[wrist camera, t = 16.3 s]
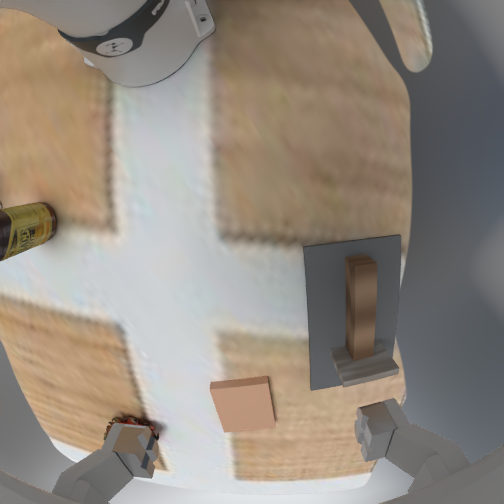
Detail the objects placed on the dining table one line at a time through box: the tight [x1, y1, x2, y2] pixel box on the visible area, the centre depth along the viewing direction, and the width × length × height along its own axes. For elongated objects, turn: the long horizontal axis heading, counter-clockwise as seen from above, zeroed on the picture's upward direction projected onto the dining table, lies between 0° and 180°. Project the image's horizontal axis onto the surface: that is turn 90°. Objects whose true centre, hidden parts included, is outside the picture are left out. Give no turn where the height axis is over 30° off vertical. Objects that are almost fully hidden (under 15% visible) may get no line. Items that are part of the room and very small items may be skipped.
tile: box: [210, 376, 276, 432], centre depth 44 cm, size 2×9×11 cm
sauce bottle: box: [0, 202, 56, 261], centre depth 27 cm, size 6×6×20 cm
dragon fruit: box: [104, 417, 159, 441], centre depth 43 cm, size 8×8×12 cm
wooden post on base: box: [329, 254, 399, 387], centre depth 36 cm, size 15×8×8 cm, turn 7°
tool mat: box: [303, 235, 401, 391], centre depth 41 cm, size 24×14×1 cm, turn 7°
